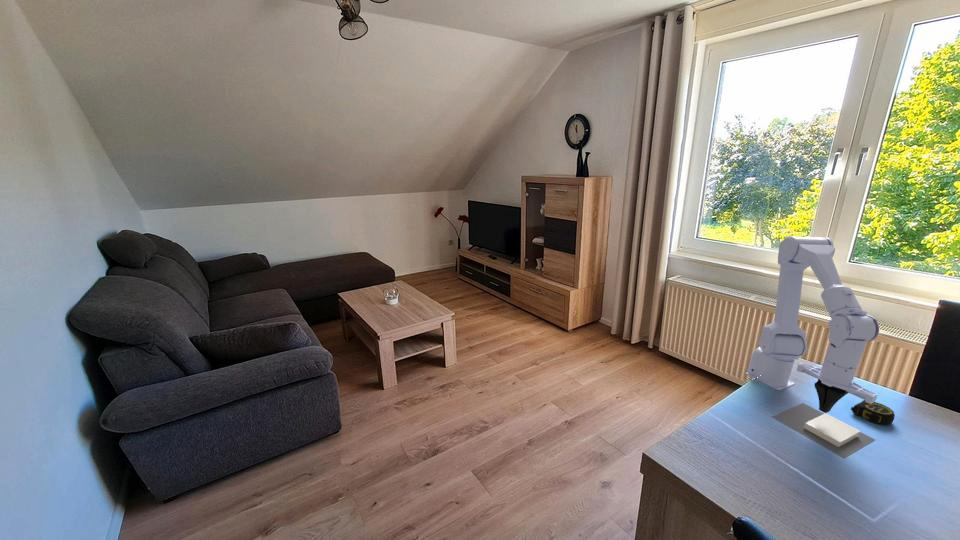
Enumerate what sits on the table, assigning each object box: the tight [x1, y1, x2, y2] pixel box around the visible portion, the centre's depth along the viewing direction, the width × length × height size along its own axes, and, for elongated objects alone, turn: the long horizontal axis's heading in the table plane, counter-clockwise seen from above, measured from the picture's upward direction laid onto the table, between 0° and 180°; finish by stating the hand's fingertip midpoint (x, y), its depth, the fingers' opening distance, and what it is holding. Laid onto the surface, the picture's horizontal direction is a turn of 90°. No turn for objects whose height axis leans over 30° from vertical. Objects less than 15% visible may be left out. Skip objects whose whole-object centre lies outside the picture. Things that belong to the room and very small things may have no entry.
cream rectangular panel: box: [804, 413, 862, 447], centre depth 91 cm, size 2×9×7 cm
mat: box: [771, 402, 876, 459], centre depth 93 cm, size 15×14×1 cm
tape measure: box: [850, 399, 895, 426], centre depth 97 cm, size 7×7×4 cm
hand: (824, 410), depth 92 cm, fingers closed
